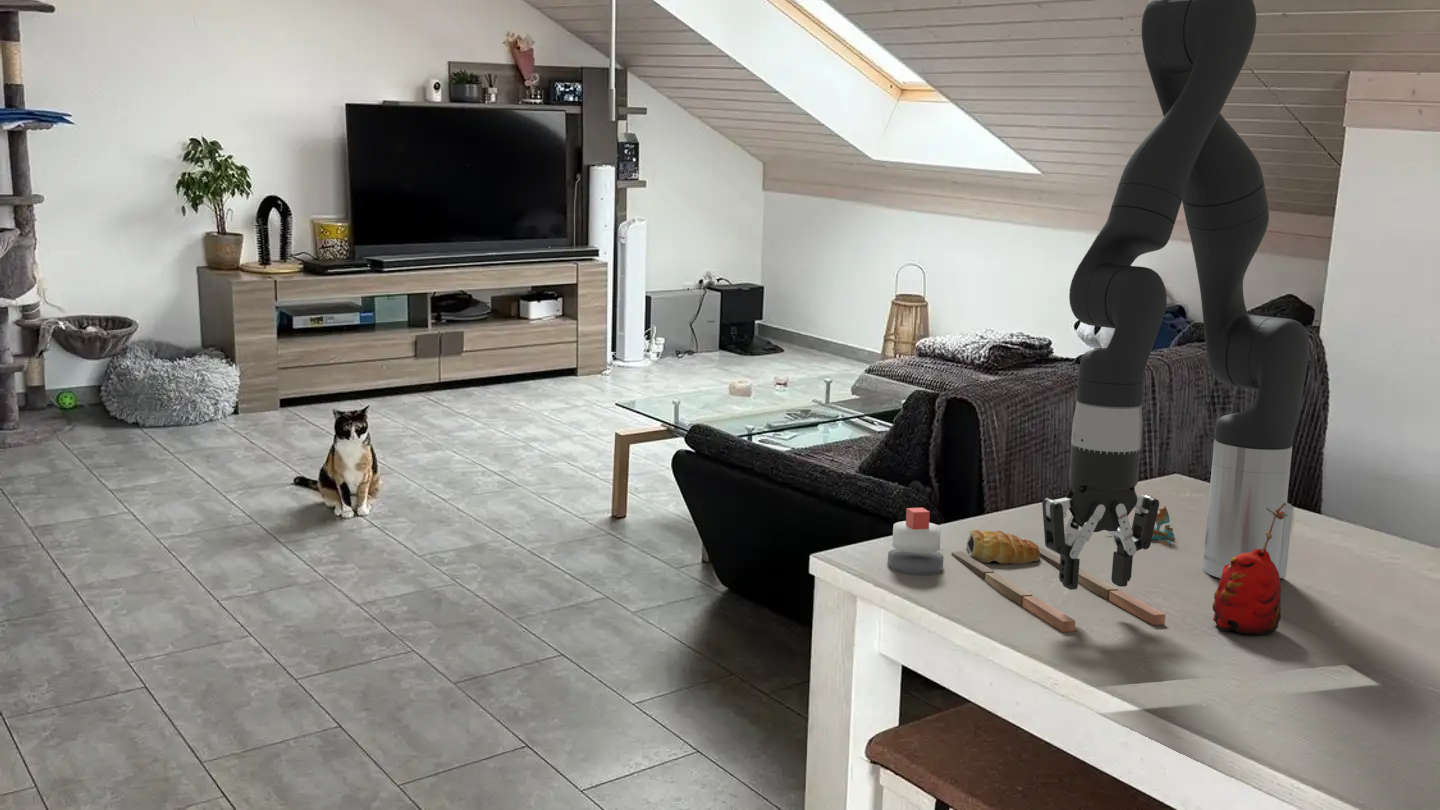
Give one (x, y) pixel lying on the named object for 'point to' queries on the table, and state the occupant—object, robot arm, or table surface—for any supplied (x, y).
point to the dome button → (916, 533)
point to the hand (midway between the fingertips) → (1094, 585)
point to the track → (1050, 612)
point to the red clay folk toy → (1250, 591)
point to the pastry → (1001, 548)
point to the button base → (915, 562)
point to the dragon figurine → (1167, 532)
